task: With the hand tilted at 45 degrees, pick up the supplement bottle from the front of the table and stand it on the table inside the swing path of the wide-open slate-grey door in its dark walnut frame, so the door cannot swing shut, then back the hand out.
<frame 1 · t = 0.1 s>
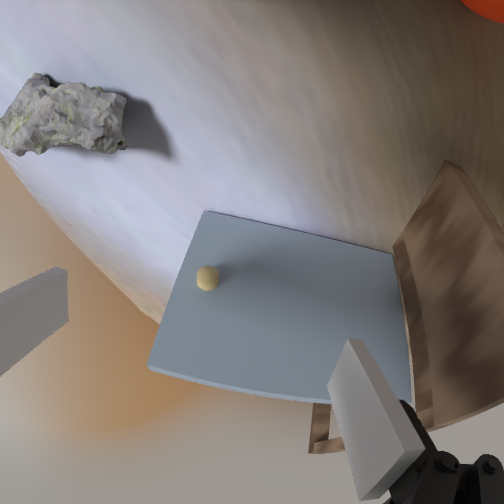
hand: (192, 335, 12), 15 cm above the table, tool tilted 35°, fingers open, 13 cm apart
mineral specimen: (69, 104, 20), on the table
door: (298, 304, 22), point 8 cm above the table, hinge at -90.0°
door frame: (355, 306, 35), on the table
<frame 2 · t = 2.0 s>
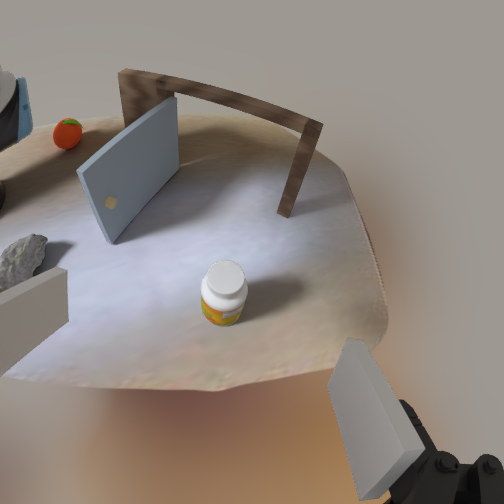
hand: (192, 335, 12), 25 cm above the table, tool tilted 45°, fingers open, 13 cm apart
mineral specimen: (20, 285, 35), on the table
door: (138, 168, 39), point 8 cm above the table, hinge at -90.0°
clementine: (73, 146, 52), on the table
supplement bottle: (221, 309, 38), on the table
door frame: (226, 186, 50), on the table
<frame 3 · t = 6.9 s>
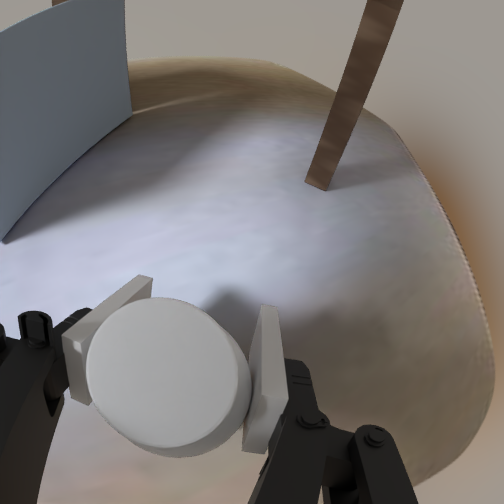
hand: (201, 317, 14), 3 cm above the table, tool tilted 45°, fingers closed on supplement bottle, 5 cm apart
door: (42, 99, 15), point 8 cm above the table, hinge at -90.0°
supplement bottle: (188, 394, 15), on the table, touching gripper
door frame: (209, 136, 26), on the table
when the fingers open (5 cm above the table, at t = 12.2 s): supplement bottle drops 1 cm, on the table.
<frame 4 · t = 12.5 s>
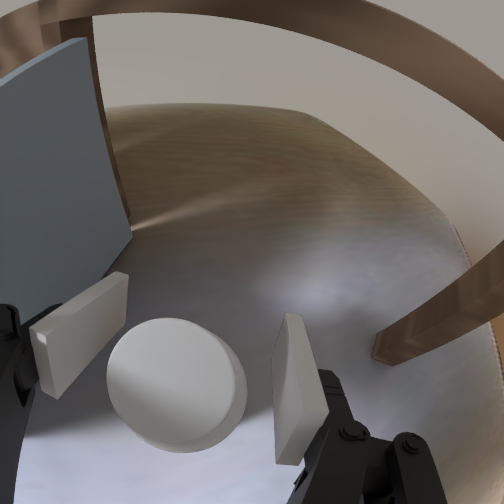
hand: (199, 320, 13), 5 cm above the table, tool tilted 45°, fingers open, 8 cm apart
supplement bottle: (190, 396, 16), on the table
door frame: (249, 287, 20), on the table
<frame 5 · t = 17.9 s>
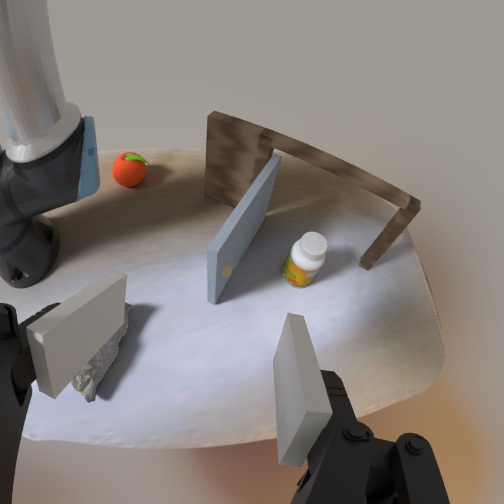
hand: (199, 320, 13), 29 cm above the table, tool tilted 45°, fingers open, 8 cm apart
mineral specimen: (100, 353, 37), on the table
door: (243, 229, 42), point 8 cm above the table, hinge at -90.0°
clementine: (134, 182, 55), on the table
supplement bottle: (296, 275, 49), on the table
door frame: (312, 238, 53), on the table
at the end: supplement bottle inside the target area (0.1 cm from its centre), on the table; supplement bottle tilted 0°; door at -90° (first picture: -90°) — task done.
